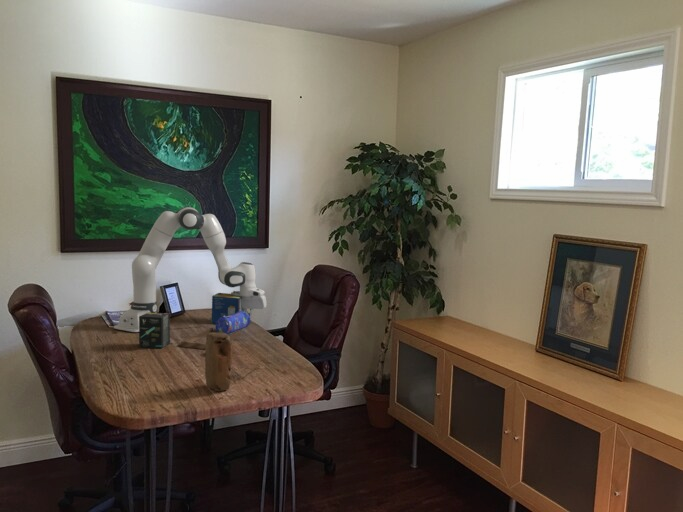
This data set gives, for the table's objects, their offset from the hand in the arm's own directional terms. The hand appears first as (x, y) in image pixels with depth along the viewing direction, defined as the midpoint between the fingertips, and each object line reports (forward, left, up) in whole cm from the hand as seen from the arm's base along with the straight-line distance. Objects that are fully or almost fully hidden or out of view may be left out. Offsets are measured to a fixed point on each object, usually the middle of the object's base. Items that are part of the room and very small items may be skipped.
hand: (248, 316), depth 308 cm
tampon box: (-21, -58, -4) cm, 62 cm away
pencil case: (-1, -18, -5) cm, 19 cm away
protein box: (-11, -3, -4) cm, 12 cm away
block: (+32, -99, -4) cm, 105 cm away
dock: (-1, -40, -4) cm, 41 cm away
